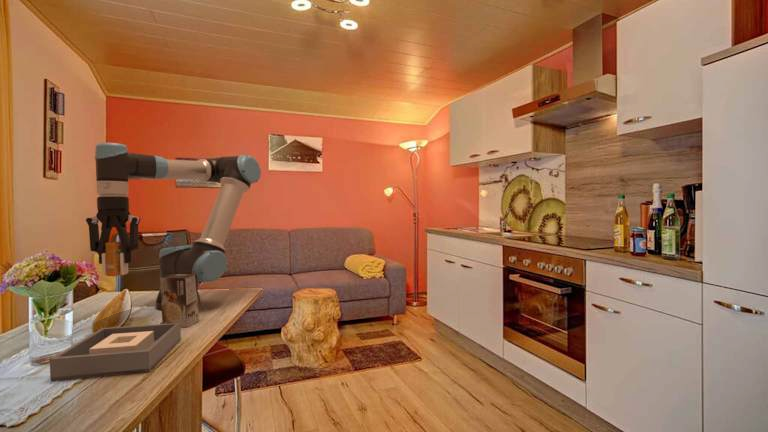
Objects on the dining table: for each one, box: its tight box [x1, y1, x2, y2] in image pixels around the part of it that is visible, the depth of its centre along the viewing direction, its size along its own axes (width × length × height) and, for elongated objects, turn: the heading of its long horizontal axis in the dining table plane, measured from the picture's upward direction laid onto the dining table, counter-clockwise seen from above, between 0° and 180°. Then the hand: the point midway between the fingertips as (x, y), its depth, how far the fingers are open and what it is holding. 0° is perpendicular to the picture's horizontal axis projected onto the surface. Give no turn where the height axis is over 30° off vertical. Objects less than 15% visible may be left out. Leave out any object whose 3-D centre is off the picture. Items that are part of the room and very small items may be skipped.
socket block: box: [89, 331, 154, 354], centre depth 91 cm, size 10×10×4 cm
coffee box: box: [159, 274, 200, 328], centre depth 116 cm, size 9×6×16 cm
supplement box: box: [105, 241, 123, 277], centre depth 105 cm, size 3×4×10 cm
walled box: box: [49, 323, 182, 382], centre depth 91 cm, size 20×20×5 cm
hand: (115, 274), depth 105 cm, fingers closed on supplement box, 4 cm apart
